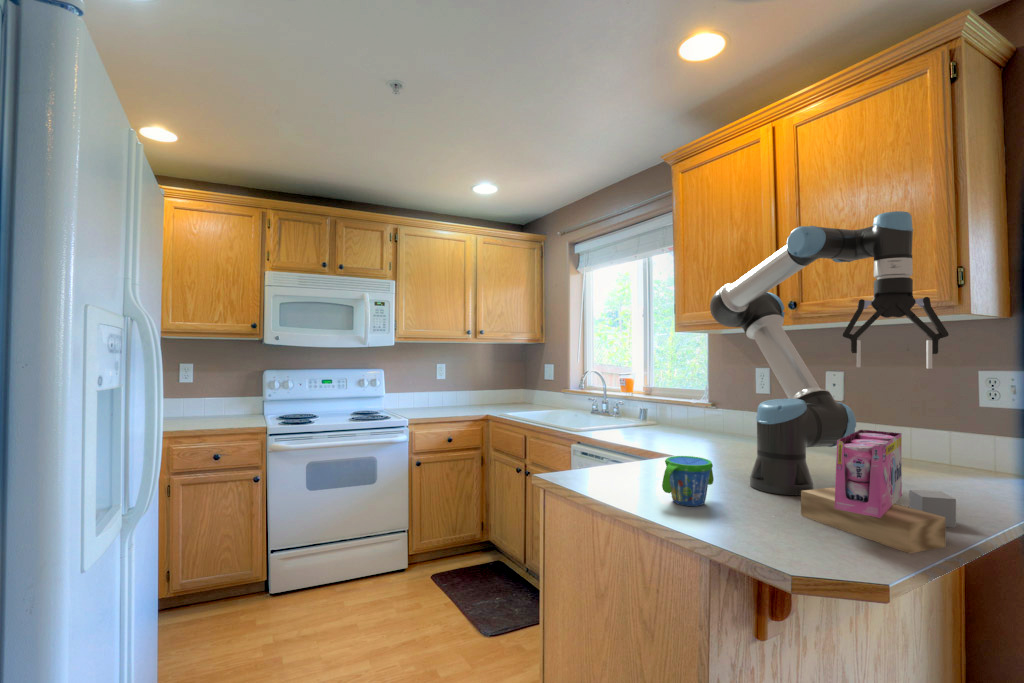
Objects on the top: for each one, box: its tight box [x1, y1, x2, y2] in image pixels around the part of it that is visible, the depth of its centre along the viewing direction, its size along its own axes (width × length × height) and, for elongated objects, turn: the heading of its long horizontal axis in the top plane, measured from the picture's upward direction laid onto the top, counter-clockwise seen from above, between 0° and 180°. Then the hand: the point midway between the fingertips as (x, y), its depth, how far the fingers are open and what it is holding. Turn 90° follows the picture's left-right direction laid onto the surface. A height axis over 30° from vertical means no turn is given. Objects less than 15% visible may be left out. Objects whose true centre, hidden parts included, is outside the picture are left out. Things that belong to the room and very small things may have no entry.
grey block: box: [908, 489, 957, 528], centre depth 114 cm, size 6×6×6 cm
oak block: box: [800, 486, 946, 554], centre depth 109 cm, size 10×23×6 cm, turn 20°
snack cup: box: [661, 455, 714, 507], centre depth 127 cm, size 16×10×10 cm
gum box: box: [834, 429, 903, 518], centre depth 109 cm, size 24×8×14 cm, turn 136°
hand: (893, 368), depth 125 cm, fingers open, 13 cm apart
